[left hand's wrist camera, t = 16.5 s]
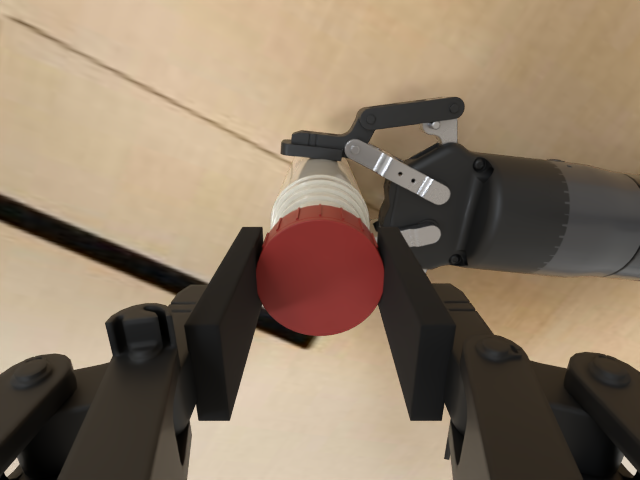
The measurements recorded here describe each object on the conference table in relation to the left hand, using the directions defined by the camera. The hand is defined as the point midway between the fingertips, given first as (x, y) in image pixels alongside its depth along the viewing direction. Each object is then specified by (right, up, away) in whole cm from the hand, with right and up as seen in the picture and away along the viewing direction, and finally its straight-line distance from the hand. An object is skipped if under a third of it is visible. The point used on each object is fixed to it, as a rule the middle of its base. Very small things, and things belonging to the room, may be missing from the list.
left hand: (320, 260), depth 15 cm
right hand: (-3, +4, +10) cm, 11 cm away
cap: (0, -1, -1) cm, 2 cm away
